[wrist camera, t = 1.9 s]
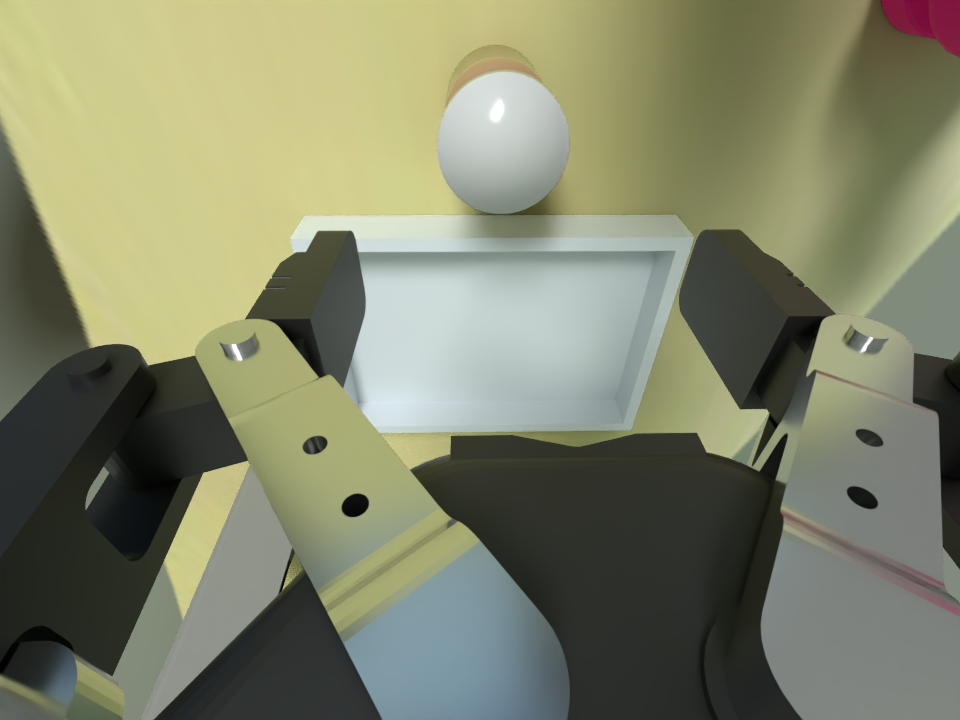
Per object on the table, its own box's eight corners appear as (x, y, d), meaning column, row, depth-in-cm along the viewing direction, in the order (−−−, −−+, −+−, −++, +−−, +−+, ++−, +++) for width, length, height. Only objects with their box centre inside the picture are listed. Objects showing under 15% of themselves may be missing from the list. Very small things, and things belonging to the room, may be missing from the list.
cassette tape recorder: (298, 531, 51) (196, 875, 32) (238, 519, 49) (93, 876, 30) (328, 458, 42) (216, 862, 24) (258, 441, 41) (76, 862, 22)
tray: (304, 215, 27) (290, 238, 25) (676, 214, 28) (694, 237, 26) (351, 404, 38) (344, 433, 36) (621, 402, 38) (631, 430, 36)
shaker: (443, 42, 22) (433, 74, 16) (548, 42, 22) (578, 74, 16) (447, 153, 25) (440, 214, 19) (538, 153, 25) (561, 213, 19)
